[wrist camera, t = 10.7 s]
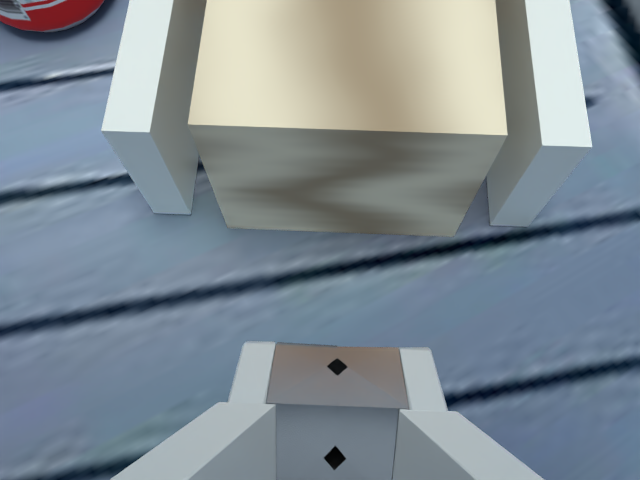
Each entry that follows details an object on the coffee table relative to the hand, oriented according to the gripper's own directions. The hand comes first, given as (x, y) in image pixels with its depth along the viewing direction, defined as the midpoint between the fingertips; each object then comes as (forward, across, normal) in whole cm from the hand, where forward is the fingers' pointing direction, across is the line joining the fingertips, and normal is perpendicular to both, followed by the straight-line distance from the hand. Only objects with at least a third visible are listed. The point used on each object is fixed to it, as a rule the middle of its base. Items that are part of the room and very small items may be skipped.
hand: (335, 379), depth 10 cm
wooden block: (+18, 0, -1) cm, 18 cm away
